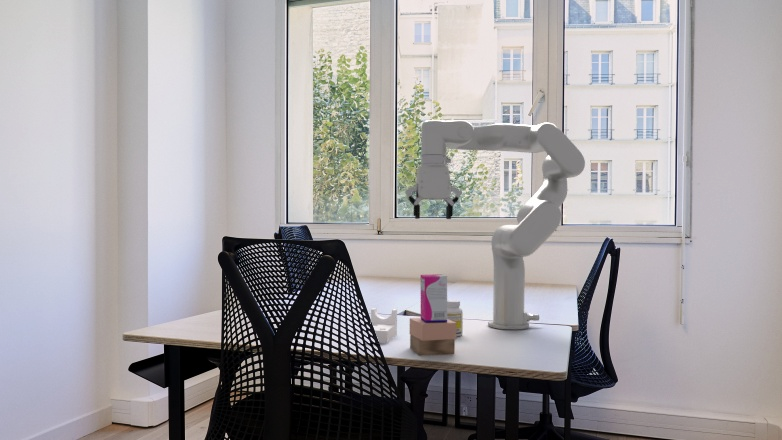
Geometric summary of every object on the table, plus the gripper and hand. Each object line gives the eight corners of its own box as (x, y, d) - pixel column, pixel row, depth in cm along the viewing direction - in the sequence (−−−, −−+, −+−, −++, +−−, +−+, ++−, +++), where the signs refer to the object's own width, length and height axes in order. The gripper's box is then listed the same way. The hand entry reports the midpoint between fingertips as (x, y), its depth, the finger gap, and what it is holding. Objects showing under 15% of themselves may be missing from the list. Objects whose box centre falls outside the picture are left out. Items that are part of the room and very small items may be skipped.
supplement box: (442, 318, 156) (442, 273, 155) (447, 322, 150) (448, 276, 150) (419, 318, 155) (420, 273, 155) (424, 323, 149) (424, 276, 149)
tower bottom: (443, 347, 158) (443, 332, 158) (454, 355, 149) (454, 339, 149) (410, 348, 156) (410, 333, 156) (419, 356, 148) (419, 340, 148)
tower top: (442, 332, 158) (442, 316, 158) (456, 338, 150) (456, 322, 150) (409, 333, 156) (409, 318, 156) (422, 340, 147) (422, 324, 147)
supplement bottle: (448, 332, 178) (448, 299, 178) (465, 334, 175) (465, 300, 175) (440, 335, 174) (440, 301, 174) (457, 337, 171) (458, 302, 171)
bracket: (372, 334, 176) (373, 308, 176) (396, 335, 174) (397, 309, 174) (361, 343, 163) (361, 314, 163) (387, 344, 162) (387, 316, 162)
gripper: (457, 163, 188) (457, 219, 188) (403, 162, 185) (402, 218, 185) (465, 161, 180) (464, 219, 180) (408, 160, 177) (407, 218, 177)
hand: (433, 218), depth 183 cm, fingers open, 9 cm apart
